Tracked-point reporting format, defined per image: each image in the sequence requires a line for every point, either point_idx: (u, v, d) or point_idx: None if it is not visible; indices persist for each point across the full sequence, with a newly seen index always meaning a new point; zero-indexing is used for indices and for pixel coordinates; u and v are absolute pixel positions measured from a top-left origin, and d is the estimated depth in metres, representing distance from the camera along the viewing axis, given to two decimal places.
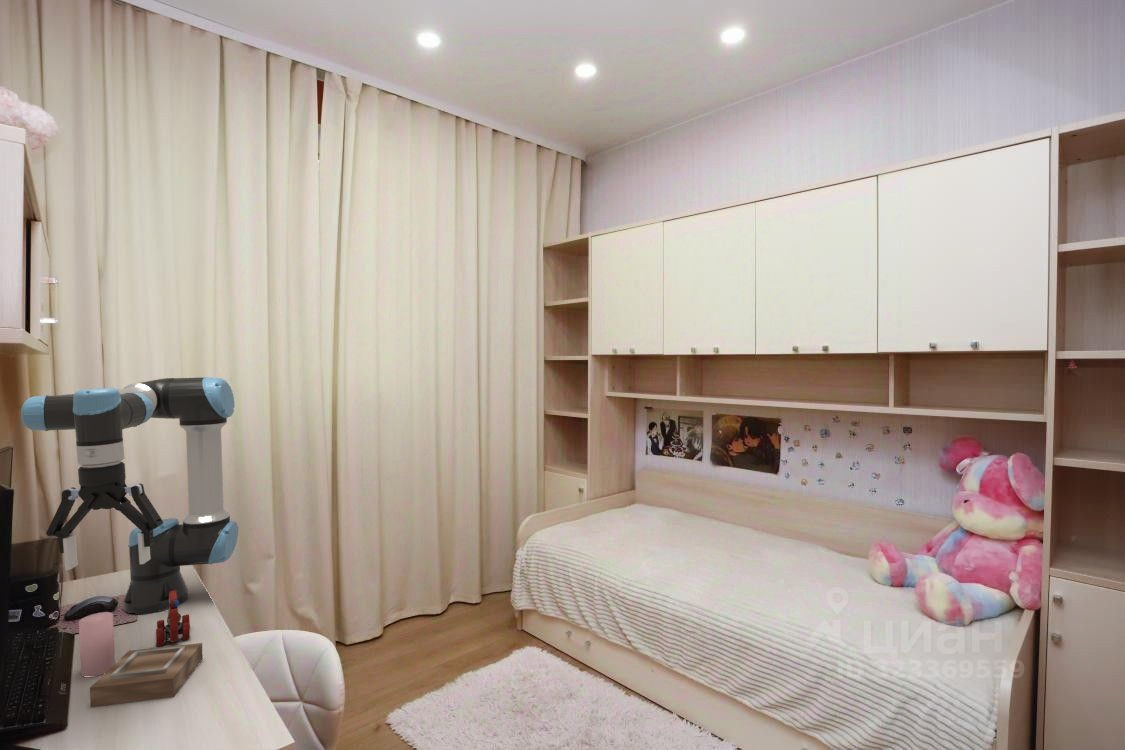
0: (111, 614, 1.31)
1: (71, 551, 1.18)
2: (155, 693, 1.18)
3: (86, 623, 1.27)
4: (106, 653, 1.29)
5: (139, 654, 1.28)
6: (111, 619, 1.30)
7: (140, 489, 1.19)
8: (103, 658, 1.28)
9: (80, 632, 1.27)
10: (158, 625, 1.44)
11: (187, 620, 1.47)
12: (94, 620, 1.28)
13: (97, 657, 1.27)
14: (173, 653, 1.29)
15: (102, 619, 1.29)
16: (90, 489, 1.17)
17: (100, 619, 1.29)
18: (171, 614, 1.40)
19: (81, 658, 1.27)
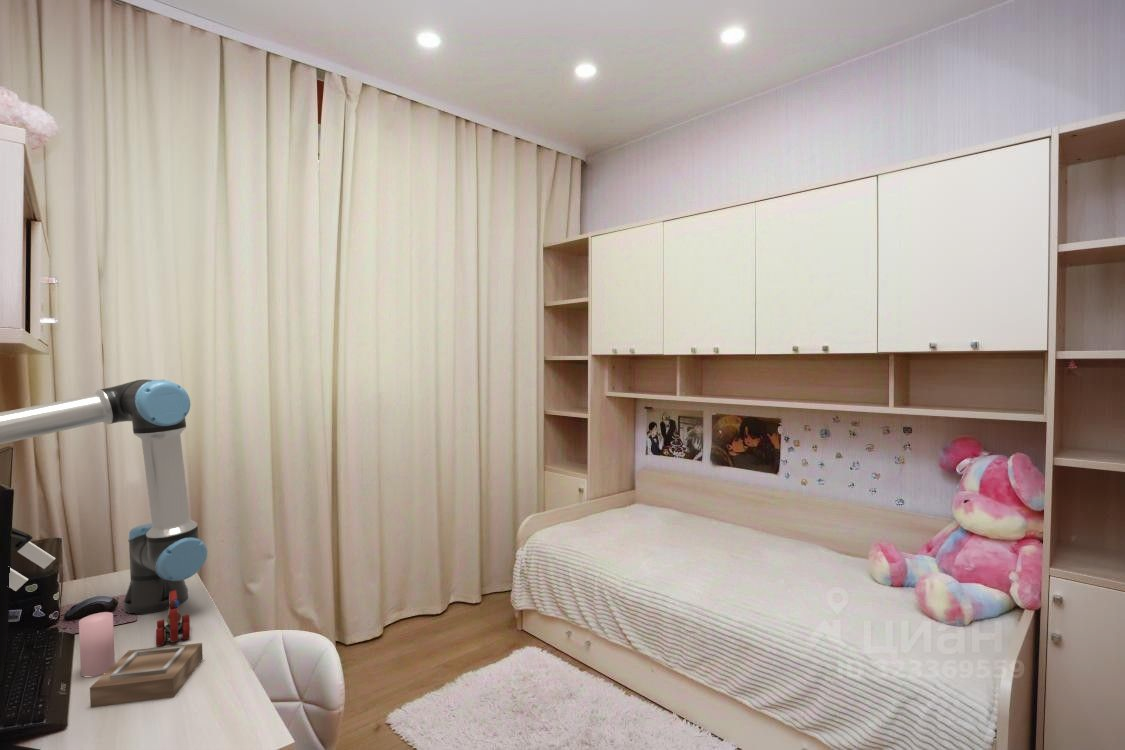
0: (111, 614, 1.31)
1: (33, 556, 1.30)
2: (155, 693, 1.18)
3: (86, 623, 1.27)
4: (106, 653, 1.29)
5: (139, 654, 1.28)
6: (111, 619, 1.30)
7: None
8: (103, 658, 1.28)
9: (80, 632, 1.27)
10: (158, 625, 1.44)
11: (187, 620, 1.47)
12: (94, 620, 1.28)
13: (97, 657, 1.27)
14: (173, 653, 1.29)
15: (102, 619, 1.29)
16: None
17: (100, 619, 1.29)
18: (171, 614, 1.40)
19: (81, 658, 1.27)
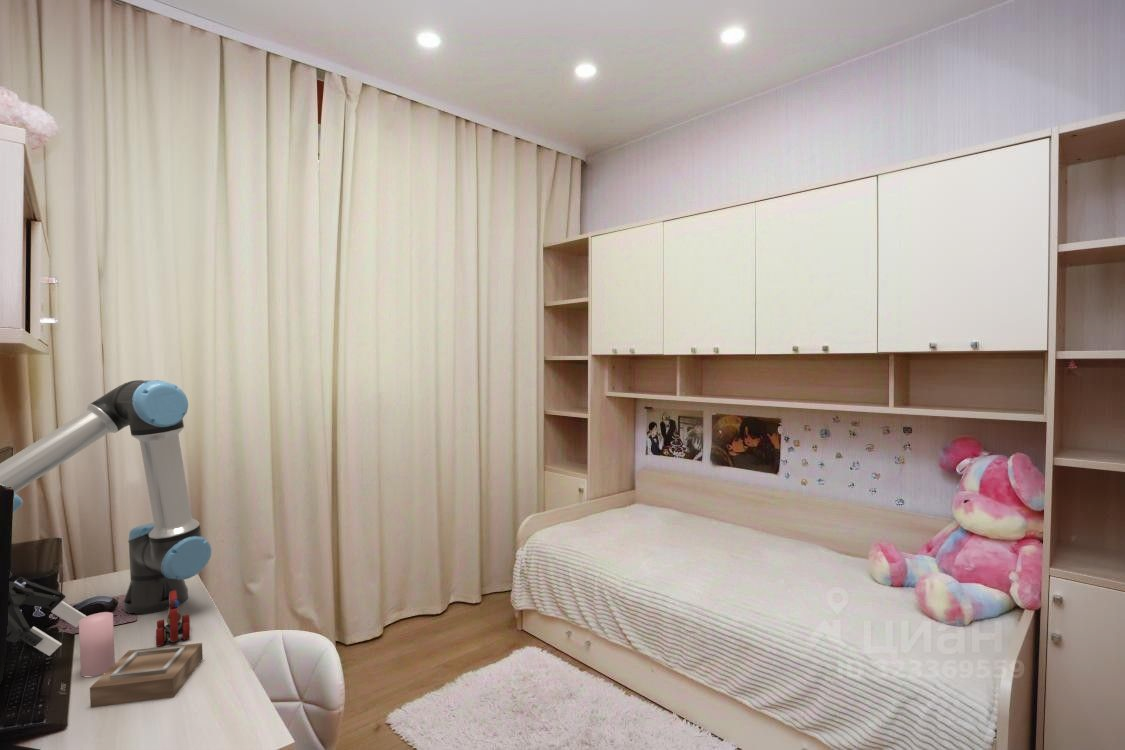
0: (111, 614, 1.31)
1: (66, 615, 1.32)
2: (155, 693, 1.18)
3: (86, 623, 1.27)
4: (106, 653, 1.29)
5: (139, 654, 1.28)
6: (111, 619, 1.30)
7: None
8: (103, 658, 1.28)
9: (80, 632, 1.27)
10: (158, 625, 1.44)
11: (187, 620, 1.47)
12: (94, 620, 1.28)
13: (97, 657, 1.27)
14: (173, 653, 1.29)
15: (102, 619, 1.29)
16: None
17: (100, 619, 1.29)
18: (171, 614, 1.40)
19: (81, 658, 1.27)
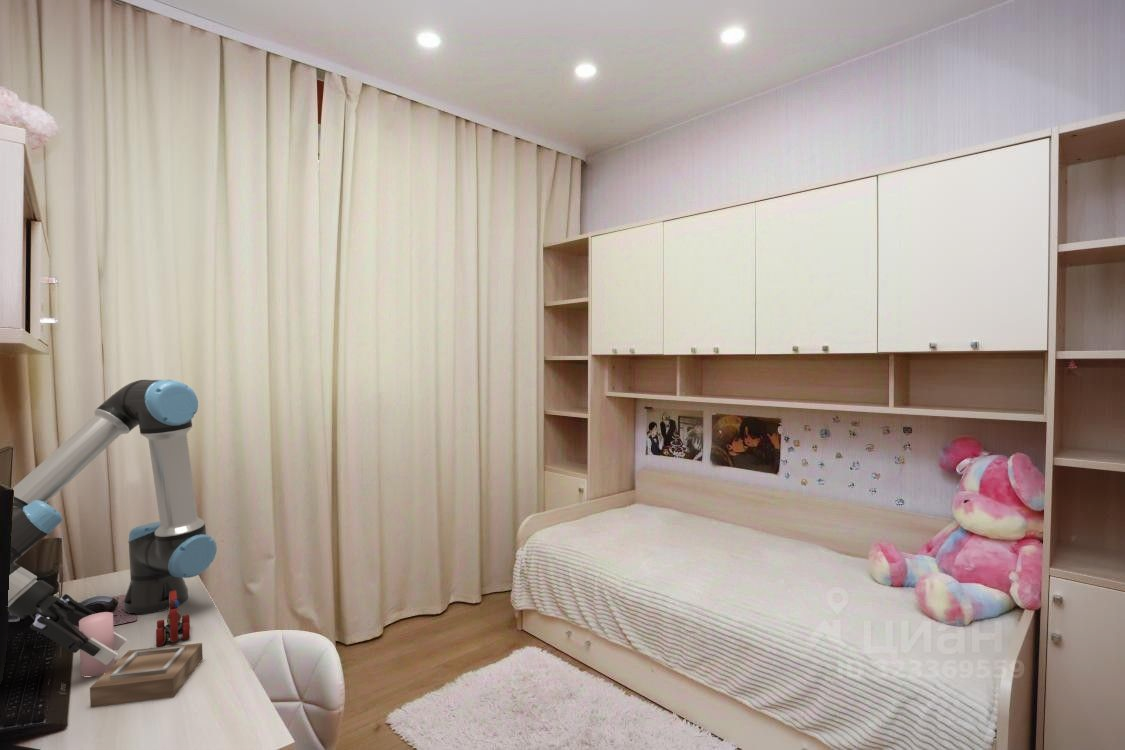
0: (111, 614, 1.31)
1: None
2: (155, 693, 1.18)
3: (86, 623, 1.27)
4: None
5: (139, 654, 1.28)
6: (111, 619, 1.30)
7: (39, 625, 1.20)
8: None
9: None
10: (158, 625, 1.44)
11: (187, 620, 1.47)
12: (94, 620, 1.28)
13: None
14: (173, 653, 1.29)
15: (102, 619, 1.29)
16: None
17: (100, 619, 1.29)
18: (171, 614, 1.40)
19: (81, 658, 1.27)
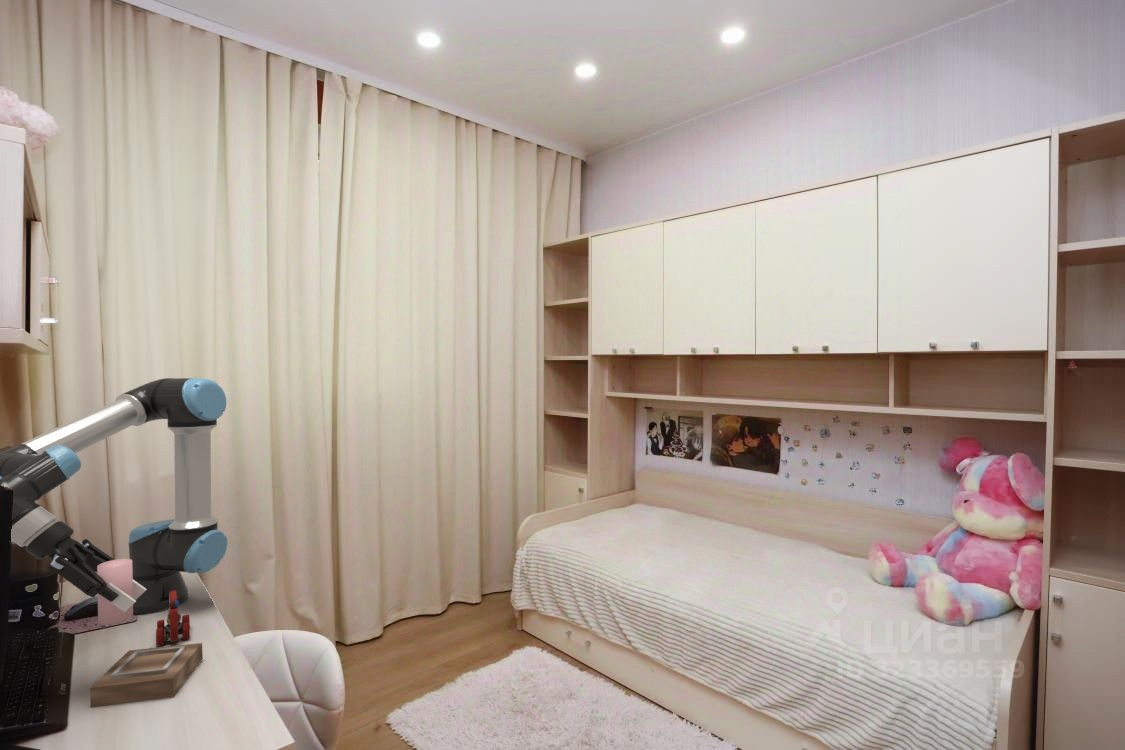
0: (130, 560, 1.26)
1: None
2: (155, 693, 1.18)
3: (104, 567, 1.22)
4: None
5: (139, 654, 1.28)
6: (130, 565, 1.25)
7: (57, 566, 1.16)
8: None
9: None
10: (158, 625, 1.44)
11: (187, 620, 1.47)
12: (113, 565, 1.23)
13: None
14: (173, 653, 1.29)
15: (121, 564, 1.24)
16: None
17: (118, 564, 1.24)
18: (171, 614, 1.40)
19: (98, 604, 1.22)
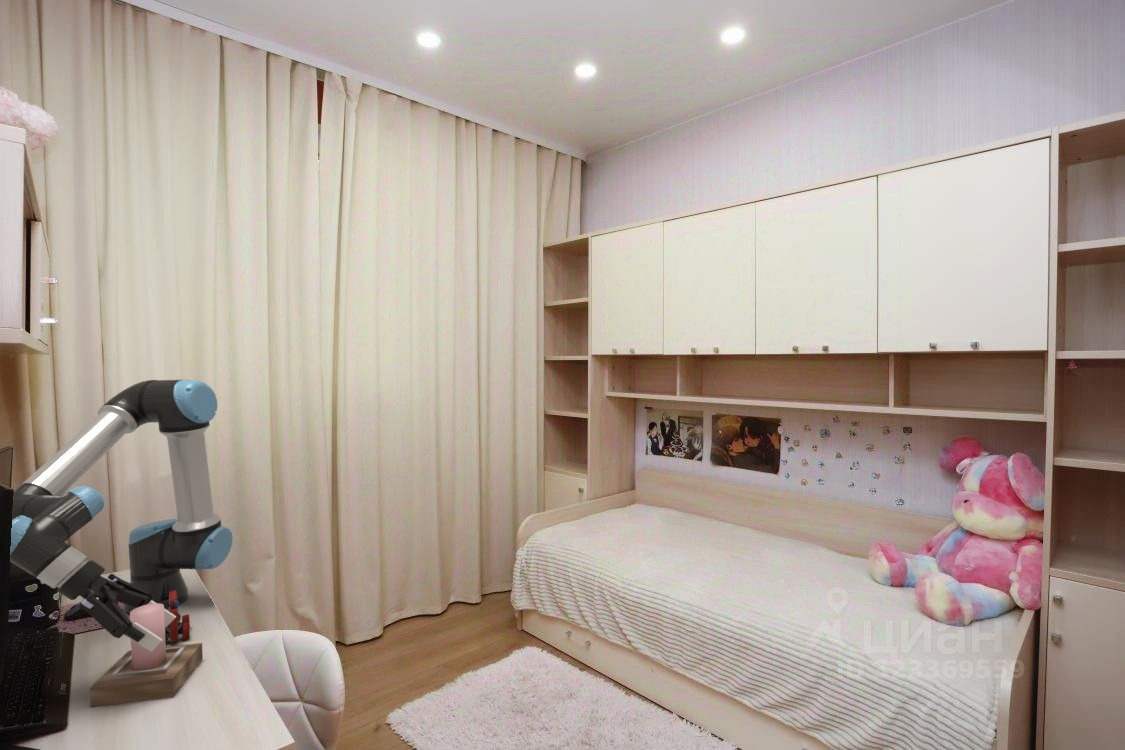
0: (162, 605, 1.26)
1: None
2: (155, 693, 1.18)
3: (138, 614, 1.22)
4: (158, 646, 1.24)
5: None
6: (162, 610, 1.25)
7: (87, 604, 1.15)
8: (155, 651, 1.23)
9: None
10: None
11: (187, 620, 1.47)
12: (146, 612, 1.23)
13: None
14: (173, 653, 1.29)
15: (154, 610, 1.24)
16: None
17: (151, 610, 1.24)
18: None
19: (133, 651, 1.22)
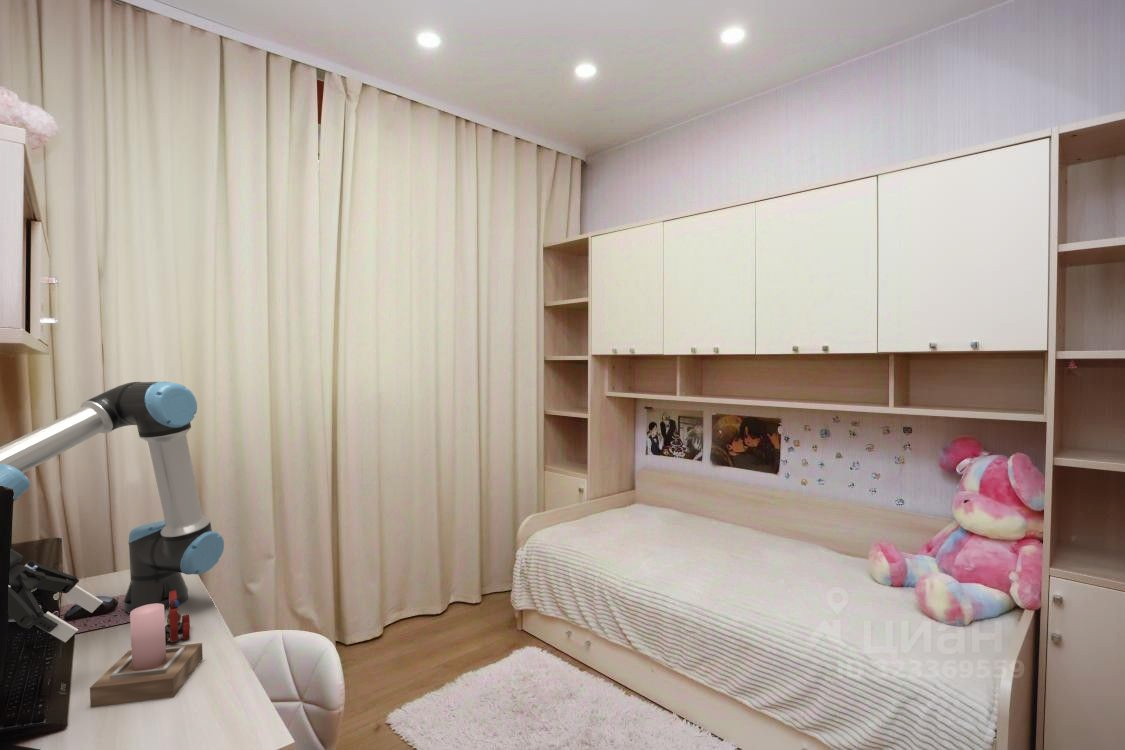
0: (162, 605, 1.26)
1: (80, 600, 1.25)
2: (155, 693, 1.18)
3: (138, 615, 1.22)
4: (158, 646, 1.24)
5: None
6: (163, 610, 1.25)
7: None
8: (155, 651, 1.23)
9: (132, 624, 1.22)
10: None
11: (187, 620, 1.47)
12: (146, 612, 1.23)
13: (150, 650, 1.22)
14: (173, 653, 1.29)
15: (154, 610, 1.24)
16: None
17: (151, 610, 1.24)
18: (171, 614, 1.40)
19: (133, 651, 1.22)
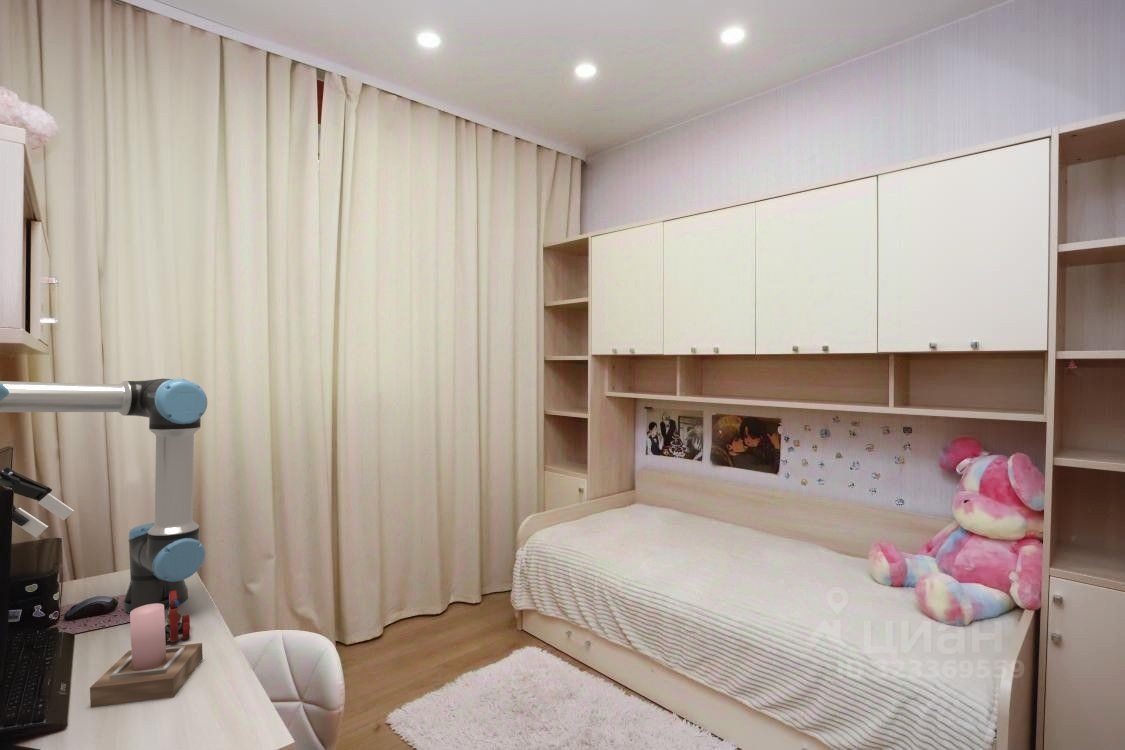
0: (162, 605, 1.26)
1: (53, 507, 1.33)
2: (155, 693, 1.18)
3: (138, 614, 1.22)
4: (158, 646, 1.24)
5: None
6: (162, 610, 1.25)
7: None
8: (155, 651, 1.23)
9: (132, 624, 1.22)
10: None
11: (187, 620, 1.47)
12: (146, 612, 1.23)
13: (150, 650, 1.22)
14: (173, 653, 1.29)
15: (154, 610, 1.24)
16: None
17: (151, 610, 1.24)
18: (171, 614, 1.40)
19: (133, 651, 1.22)
